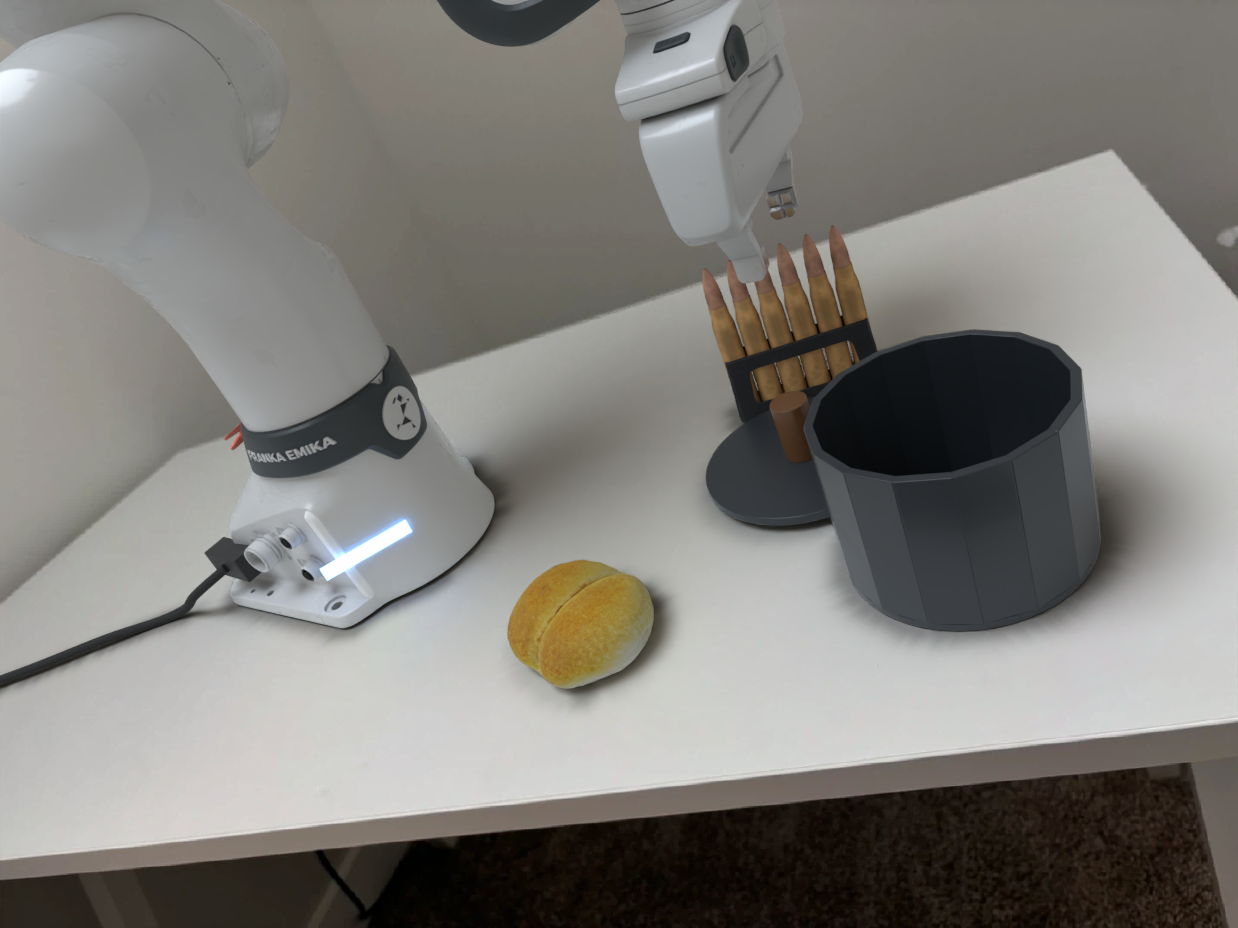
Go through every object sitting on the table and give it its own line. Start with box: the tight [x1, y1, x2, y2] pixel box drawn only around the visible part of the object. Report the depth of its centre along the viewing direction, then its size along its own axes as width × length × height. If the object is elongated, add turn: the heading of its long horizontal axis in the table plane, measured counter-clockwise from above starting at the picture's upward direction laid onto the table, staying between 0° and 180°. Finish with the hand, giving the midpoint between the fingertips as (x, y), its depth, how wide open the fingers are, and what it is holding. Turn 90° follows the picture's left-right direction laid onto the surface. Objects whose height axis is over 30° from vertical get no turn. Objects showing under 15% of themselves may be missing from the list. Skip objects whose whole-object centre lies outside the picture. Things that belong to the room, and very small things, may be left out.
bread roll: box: [507, 559, 655, 690], centre depth 55 cm, size 8×9×4 cm
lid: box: [705, 391, 830, 527], centre depth 61 cm, size 13×13×5 cm
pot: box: [803, 328, 1102, 632], centre depth 49 cm, size 13×13×10 cm
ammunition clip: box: [701, 224, 879, 424], centre depth 67 cm, size 11×2×12 cm, turn 89°
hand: (772, 244), depth 63 cm, fingers open, 8 cm apart
